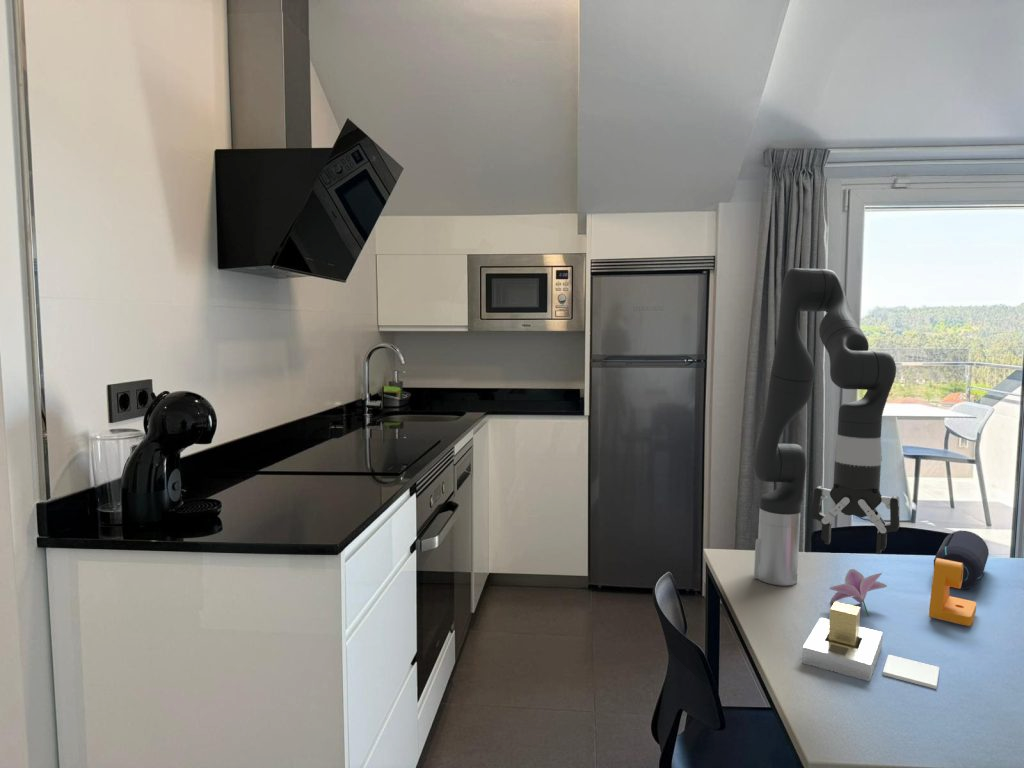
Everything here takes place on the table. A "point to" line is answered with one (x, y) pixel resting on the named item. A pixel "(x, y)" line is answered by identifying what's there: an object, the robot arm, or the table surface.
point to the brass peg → (844, 624)
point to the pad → (911, 671)
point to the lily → (856, 586)
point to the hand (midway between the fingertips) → (852, 547)
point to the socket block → (843, 652)
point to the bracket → (941, 601)
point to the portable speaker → (965, 555)
